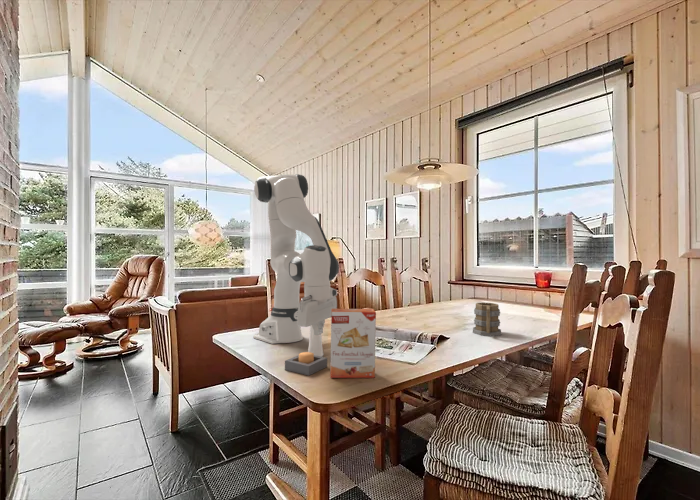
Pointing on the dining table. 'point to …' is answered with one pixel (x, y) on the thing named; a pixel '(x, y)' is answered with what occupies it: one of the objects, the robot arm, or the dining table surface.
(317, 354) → the cosmetic bottle
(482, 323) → the tankard
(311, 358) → the button
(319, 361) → the gray square tray
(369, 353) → the cracker box
